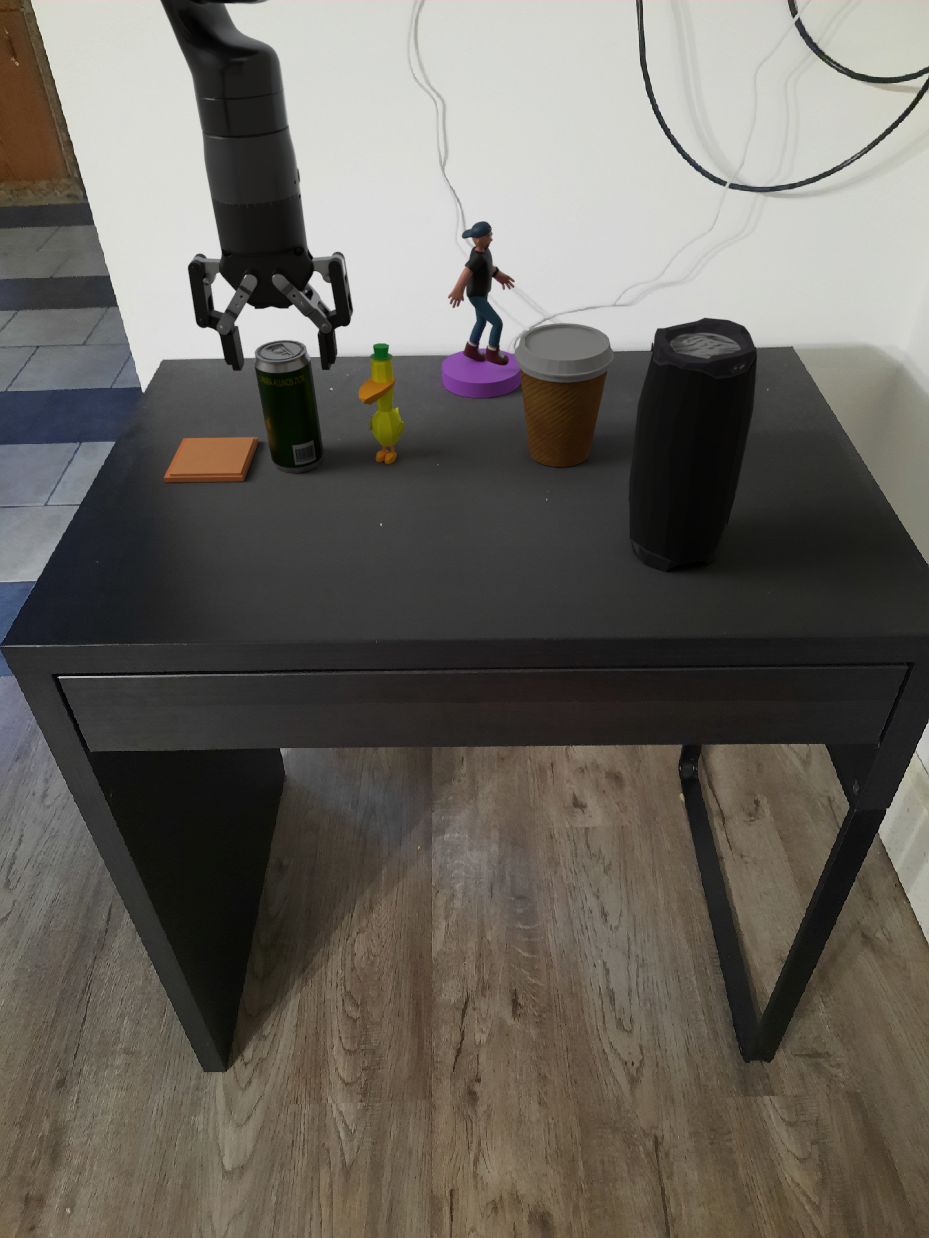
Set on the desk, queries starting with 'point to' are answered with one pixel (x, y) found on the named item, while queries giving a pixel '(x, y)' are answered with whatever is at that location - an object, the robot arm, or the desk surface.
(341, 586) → the desk surface
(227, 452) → the orange square panel
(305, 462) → the beer can
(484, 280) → the figurine
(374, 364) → the toy figure
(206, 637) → the desk surface
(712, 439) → the portable speaker
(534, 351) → the disposable coffee cup
